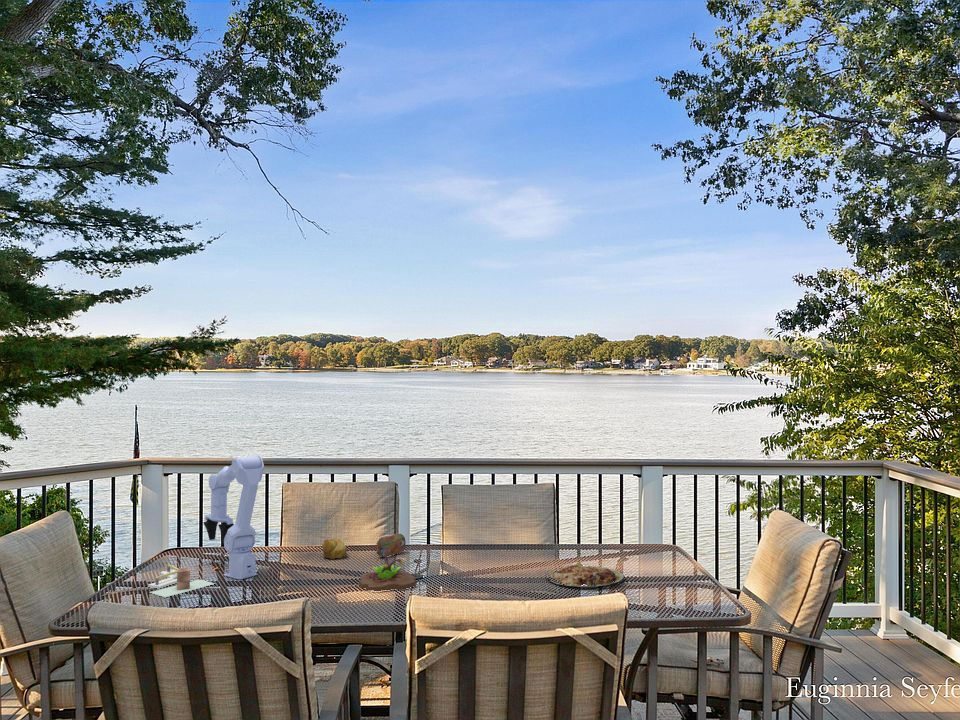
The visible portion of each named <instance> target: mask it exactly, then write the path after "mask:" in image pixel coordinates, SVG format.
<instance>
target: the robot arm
mask: <svg viewBox="0 0 960 720" xmlns="http://www.w3.org/2000/svg"><path fill="white" fill-rule="evenodd" d="M264 469H265V465H264V460H263V458H262V456H260V455H256V456H242V457H238V456H235V457H234V458H233V459H232V460H231V465H230V466H228V465H227V466H223V468H222V469H221V470H220V471H218V472H217V473H216V474H214V473H212V474H210V476H209V478H208V487H209V489H210V490H211V492H210V493H211V494H210V495H211V496H210V514H209V513H208V514H205V515H204V520H205V521H204V522H203V525H204V527H205V529H206V532H207V535H208V539H209V541H213V540H215V539H216V535H217V528H219V531H220V540H221V544H223V545H224V549H225V550H226V551H227V552H228V573H223V576H224V577H228V578H231V579H236V580H242V579H243V580H244V579H248V578H251V577H255V576H257V575H258V573H256V569H257V568H256V563H257V558H256V555H255V554H254V553H253V552H251V551H252V549H253V547H255V544H256V533H257V532H256V529H255V528H254V527H253V526H252V525H251V521H252V517H253V512H254V507H255V502H256V497H257V493H258V489H259V488H258V487H259V483H260V482H261V481H262V479H263V474H264ZM235 479H236V481H237V483H238V484H239V485H242V487H241V488H242V489H241V493H240V497H239V503H238V506H237V508H238V509H237V513H236V518H235V523H233V522H234V519H233V518H232V517H229V516H230V515H227V514H228V513H227V512H228V511H227V510H228V493H229V488H230V485H231V483H232V482H233V481H234V480H235ZM219 523H221V524H219Z"/></svg>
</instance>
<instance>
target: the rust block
mask: <svg viewBox="0 0 960 720" xmlns="http://www.w3.org/2000/svg"><path fill="white" fill-rule="evenodd" d="M190 582H191V568H190V567H187V568H179V569H177V584H176V585H177V590H183V589H190Z"/></svg>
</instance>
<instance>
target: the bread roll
mask: <svg viewBox="0 0 960 720" xmlns="http://www.w3.org/2000/svg"><path fill="white" fill-rule="evenodd" d="M321 545H322V553H323V556H324V558H326V559H328V558H330V559H329V560H336V559H335V558H338V559H343V558H344V557H345V556H346V555H347V552H348V551H347V550H348V548H347V545H346V544H345V543H344V542H343V541H342V540H341V539H339V538H330V539H325V540H324V541H323V542H322V544H321Z"/></svg>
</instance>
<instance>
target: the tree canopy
mask: <svg viewBox="0 0 960 720" xmlns="http://www.w3.org/2000/svg"><path fill="white" fill-rule="evenodd" d="M406 545H407V544H406V538H405V536H404V535H403V534H401V533H393V534H388V535H385V536H381V537H379V539H377V542H376V546H375V547H376V548H375V549H376V554H377V555H378V556H379V557H380V556H382V557H381V558H384V557H385V556H384V555H383V553H384V552H385V551H386V552H387V556H389V555H393V554H397V553H401V552H402V553H403V552H404V551H405V549H406ZM402 553H401V554H402Z"/></svg>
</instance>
